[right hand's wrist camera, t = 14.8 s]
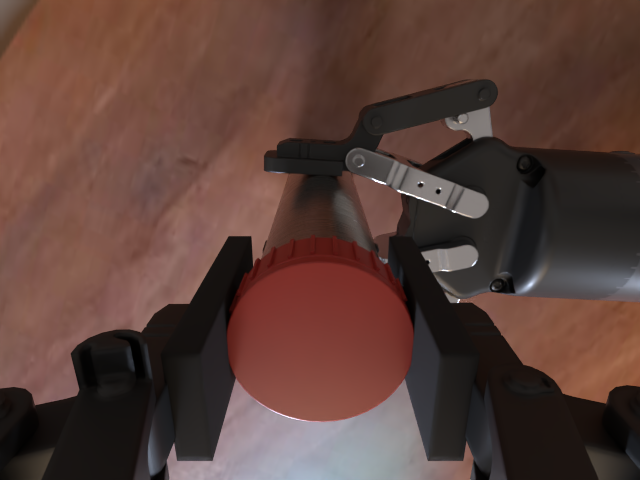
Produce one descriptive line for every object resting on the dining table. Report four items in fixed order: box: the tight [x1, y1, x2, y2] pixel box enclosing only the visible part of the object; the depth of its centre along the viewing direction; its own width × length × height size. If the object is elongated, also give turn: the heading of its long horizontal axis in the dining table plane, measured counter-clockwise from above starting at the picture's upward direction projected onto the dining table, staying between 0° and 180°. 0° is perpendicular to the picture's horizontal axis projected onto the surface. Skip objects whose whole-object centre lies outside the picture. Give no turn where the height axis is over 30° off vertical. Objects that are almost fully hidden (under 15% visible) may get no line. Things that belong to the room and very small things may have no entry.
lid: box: [227, 235, 414, 422], centre depth 11 cm, size 5×5×2 cm
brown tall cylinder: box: [261, 171, 379, 259], centre depth 20 cm, size 4×4×18 cm
